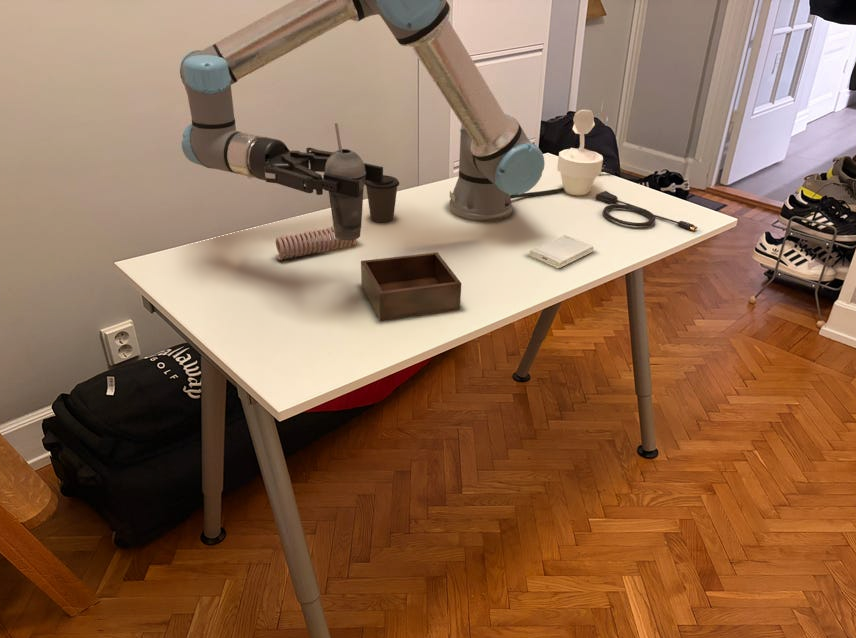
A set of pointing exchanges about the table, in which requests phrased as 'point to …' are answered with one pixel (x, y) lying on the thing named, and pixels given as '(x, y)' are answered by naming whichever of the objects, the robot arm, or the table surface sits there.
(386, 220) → the coffee cup
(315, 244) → the coil
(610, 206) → the cable
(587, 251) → the hard drive
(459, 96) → the robot arm
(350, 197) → the beverage cup
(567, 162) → the potted plant
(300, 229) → the table surface
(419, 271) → the box
